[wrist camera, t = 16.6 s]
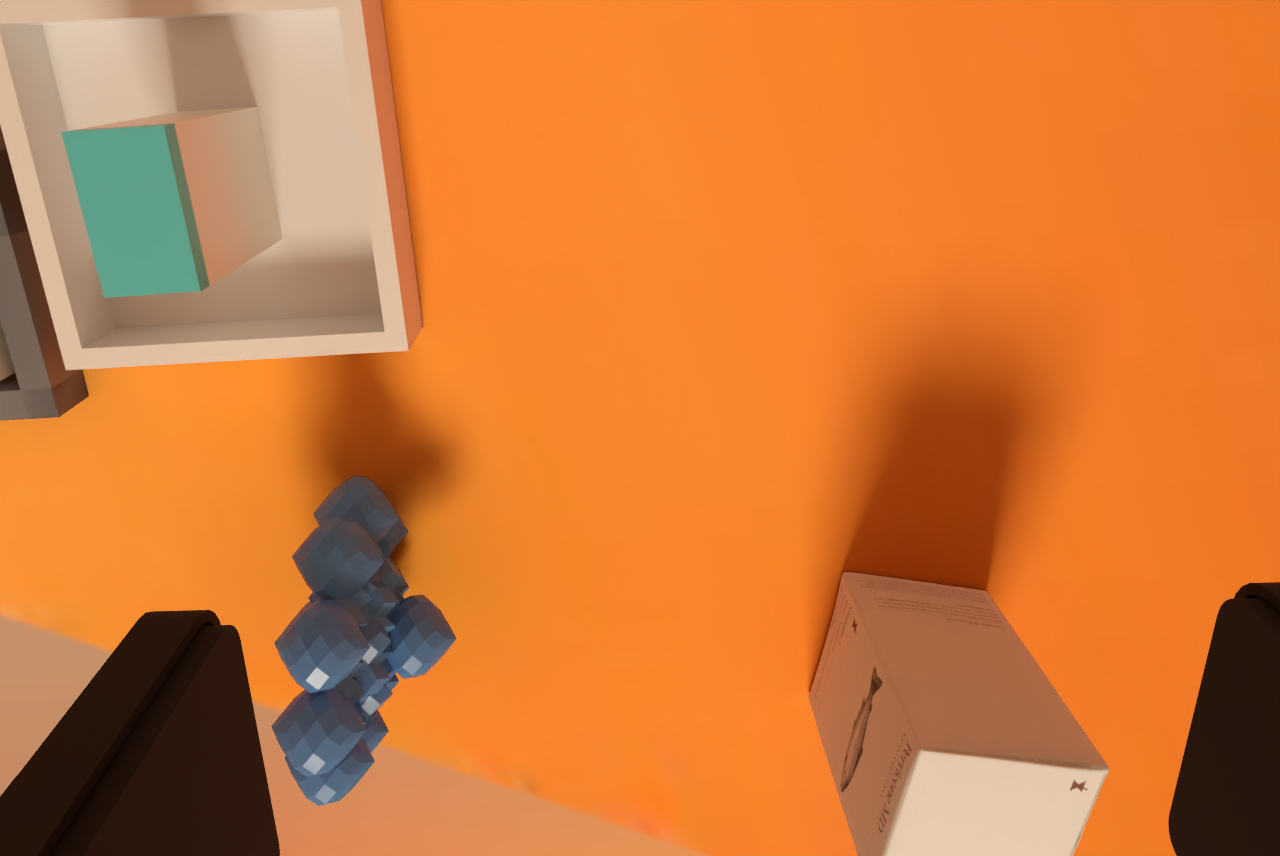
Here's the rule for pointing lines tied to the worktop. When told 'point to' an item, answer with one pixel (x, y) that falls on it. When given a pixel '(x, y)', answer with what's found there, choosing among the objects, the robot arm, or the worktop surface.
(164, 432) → the worktop surface
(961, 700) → the supplement box
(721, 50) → the worktop surface
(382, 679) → the grapes
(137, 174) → the block
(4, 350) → the block
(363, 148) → the tray
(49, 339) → the frame
